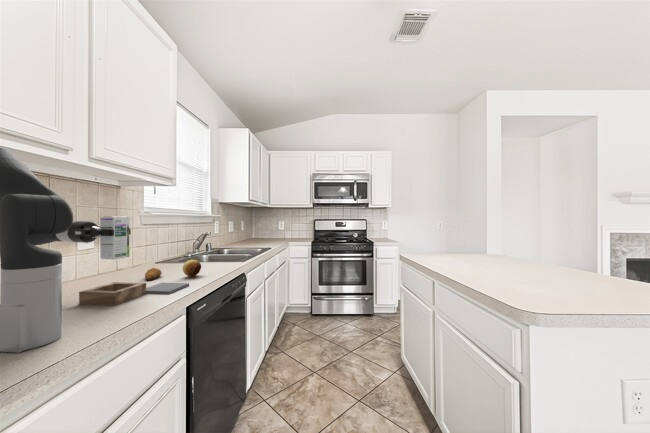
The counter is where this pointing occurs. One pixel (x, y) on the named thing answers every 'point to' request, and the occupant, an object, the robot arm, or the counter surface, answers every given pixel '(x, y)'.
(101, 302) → the walnut holder
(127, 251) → the syrup box
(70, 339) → the counter surface
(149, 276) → the croissant
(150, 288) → the charcoal mat
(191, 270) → the fruit
